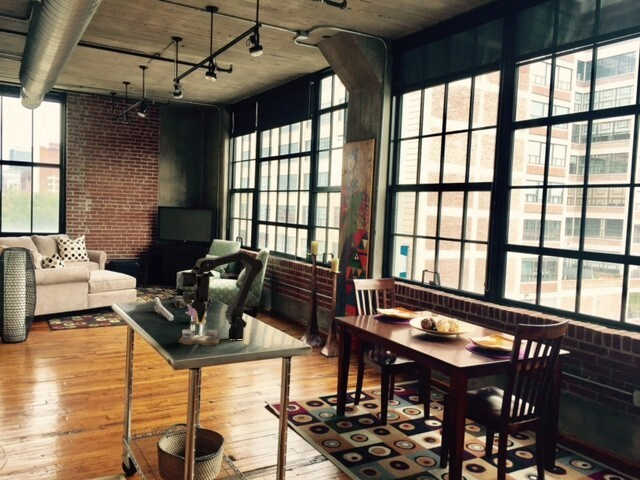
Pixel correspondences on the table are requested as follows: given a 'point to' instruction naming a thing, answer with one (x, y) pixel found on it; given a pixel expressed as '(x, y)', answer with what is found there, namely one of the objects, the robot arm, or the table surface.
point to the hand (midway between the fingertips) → (201, 320)
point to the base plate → (202, 338)
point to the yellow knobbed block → (202, 319)
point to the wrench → (162, 309)
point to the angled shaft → (188, 333)
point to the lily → (192, 313)
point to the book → (181, 302)
